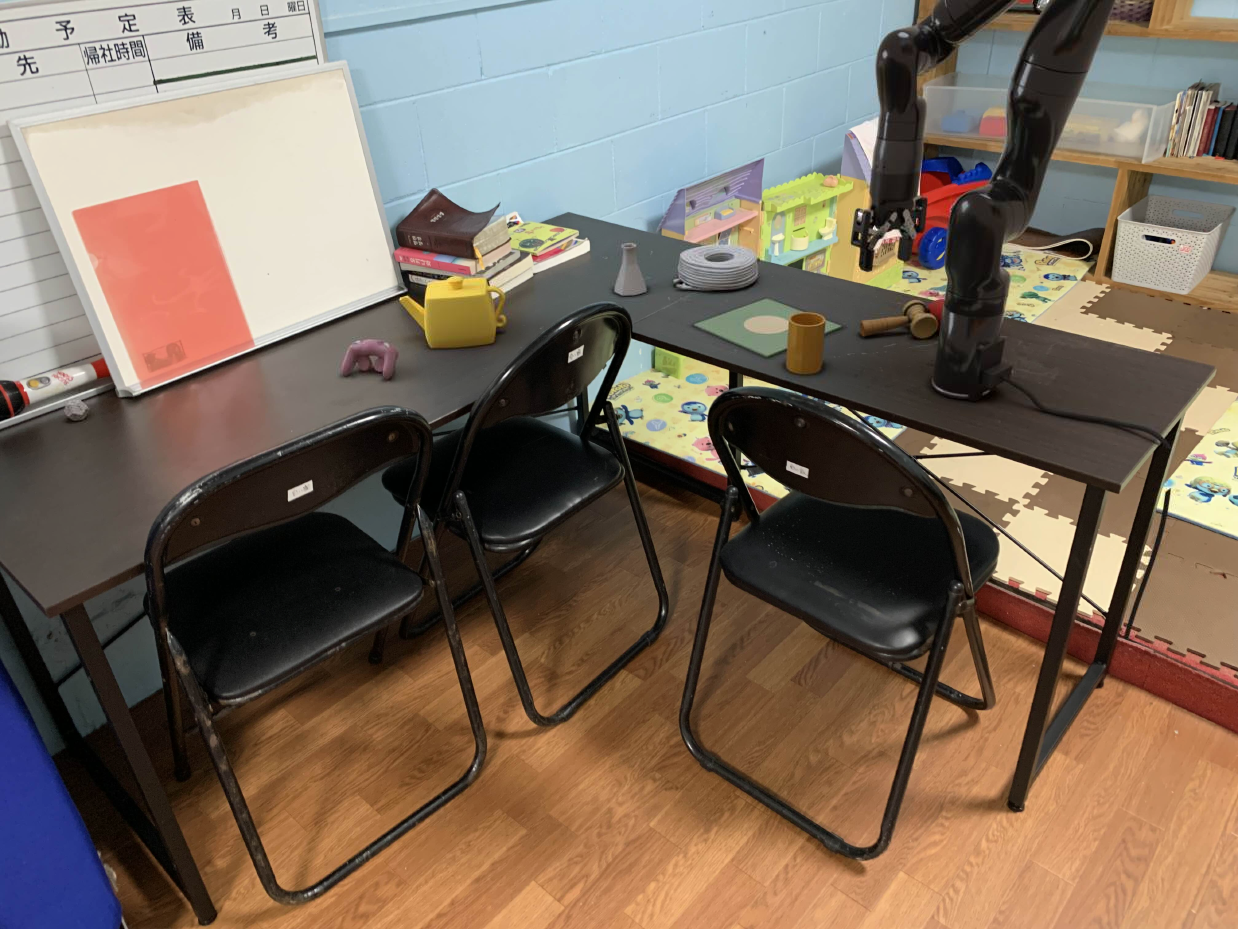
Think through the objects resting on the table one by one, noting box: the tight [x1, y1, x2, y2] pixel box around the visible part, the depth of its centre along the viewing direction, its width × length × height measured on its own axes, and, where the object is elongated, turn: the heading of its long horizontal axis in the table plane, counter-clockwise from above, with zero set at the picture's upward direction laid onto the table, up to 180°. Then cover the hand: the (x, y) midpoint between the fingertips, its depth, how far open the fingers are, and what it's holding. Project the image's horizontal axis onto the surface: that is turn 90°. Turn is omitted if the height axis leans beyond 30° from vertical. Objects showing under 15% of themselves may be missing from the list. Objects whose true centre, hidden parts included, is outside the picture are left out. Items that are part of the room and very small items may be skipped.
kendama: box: [859, 298, 945, 339], centre depth 173 cm, size 8×6×18 cm
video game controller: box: [341, 338, 399, 380], centre depth 168 cm, size 10×5×7 cm, turn 74°
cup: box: [785, 311, 827, 375], centre depth 161 cm, size 6×6×9 cm
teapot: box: [398, 275, 507, 349], centre depth 179 cm, size 20×12×12 cm, turn 96°
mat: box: [693, 298, 843, 358], centre depth 179 cm, size 20×20×1 cm
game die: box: [63, 398, 90, 422], centre depth 158 cm, size 4×4×3 cm
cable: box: [672, 244, 759, 292], centre depth 201 cm, size 18×18×6 cm
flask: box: [614, 242, 648, 296], centre depth 197 cm, size 7×7×10 cm
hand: (884, 265), depth 154 cm, fingers open, 8 cm apart
